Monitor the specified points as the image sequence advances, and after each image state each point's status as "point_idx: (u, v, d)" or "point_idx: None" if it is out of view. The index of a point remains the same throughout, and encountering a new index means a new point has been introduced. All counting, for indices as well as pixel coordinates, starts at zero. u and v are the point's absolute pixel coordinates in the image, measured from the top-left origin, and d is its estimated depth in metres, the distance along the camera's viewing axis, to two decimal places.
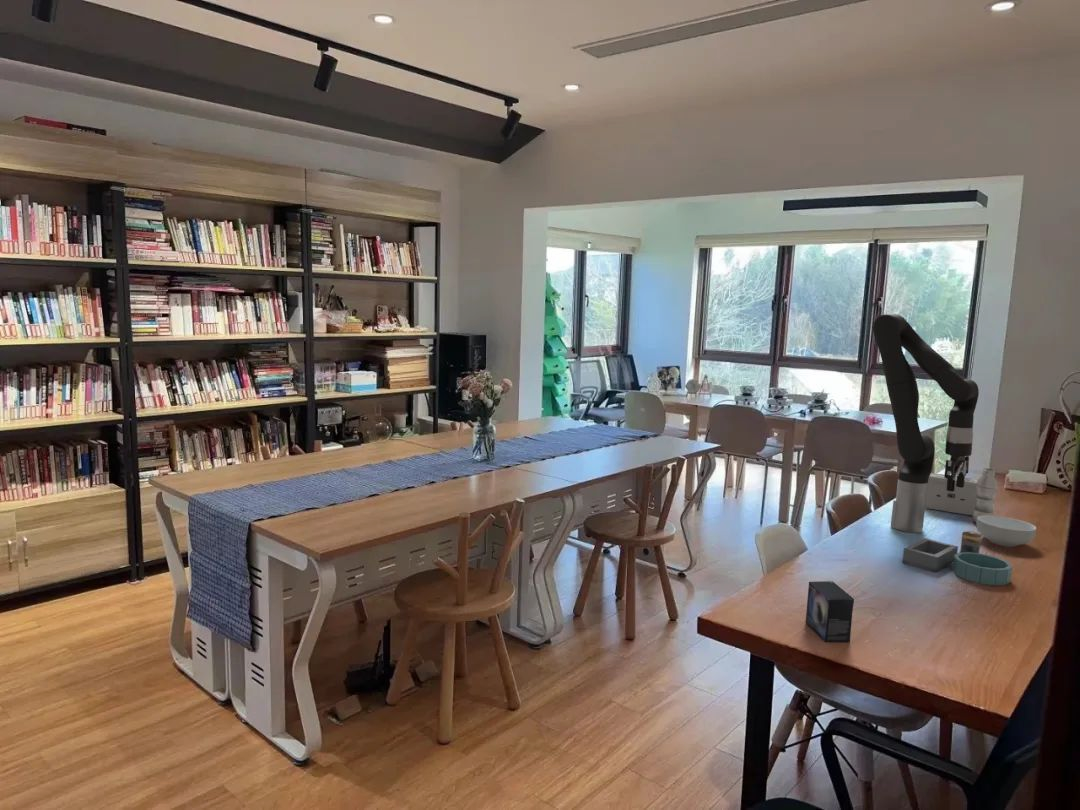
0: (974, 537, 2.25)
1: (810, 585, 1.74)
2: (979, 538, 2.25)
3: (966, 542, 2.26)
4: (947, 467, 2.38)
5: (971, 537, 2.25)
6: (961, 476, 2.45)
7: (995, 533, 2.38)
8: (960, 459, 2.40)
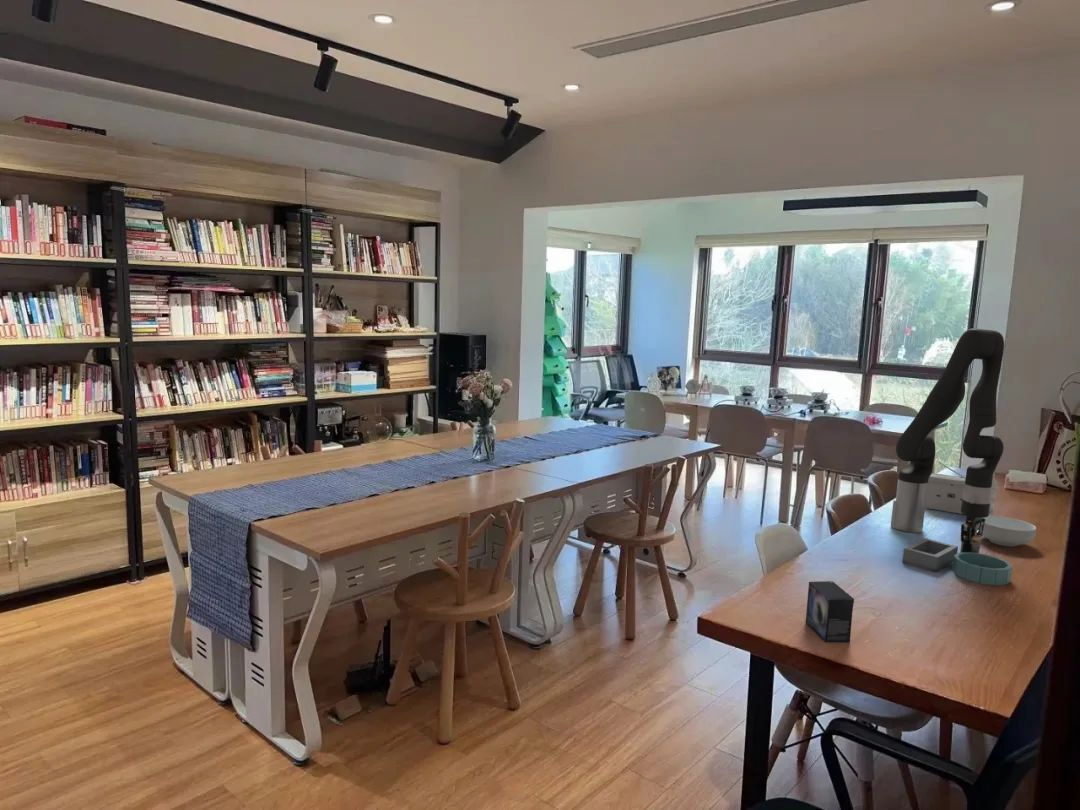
0: (974, 537, 2.25)
1: (810, 585, 1.74)
2: (979, 538, 2.25)
3: None
4: (963, 531, 2.23)
5: None
6: None
7: (995, 533, 2.38)
8: (976, 520, 2.25)
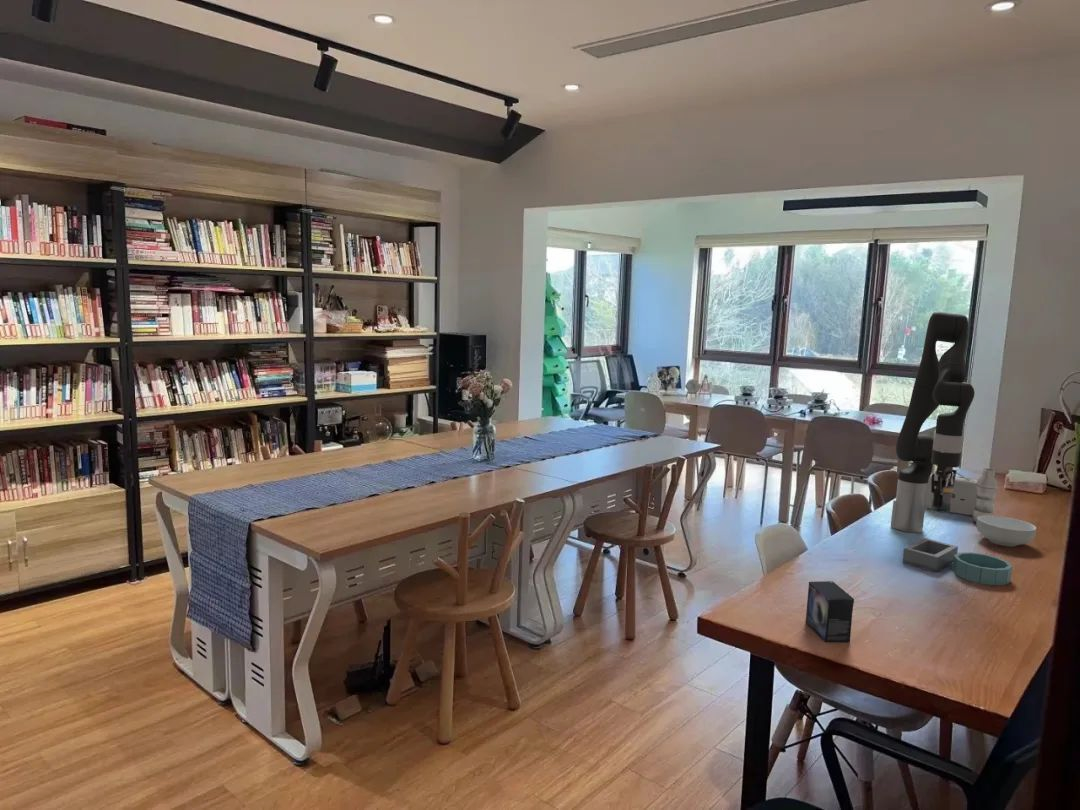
0: (945, 488, 2.17)
1: (810, 585, 1.74)
2: (951, 489, 2.17)
3: None
4: (933, 482, 2.15)
5: None
6: None
7: (995, 533, 2.38)
8: (947, 470, 2.17)
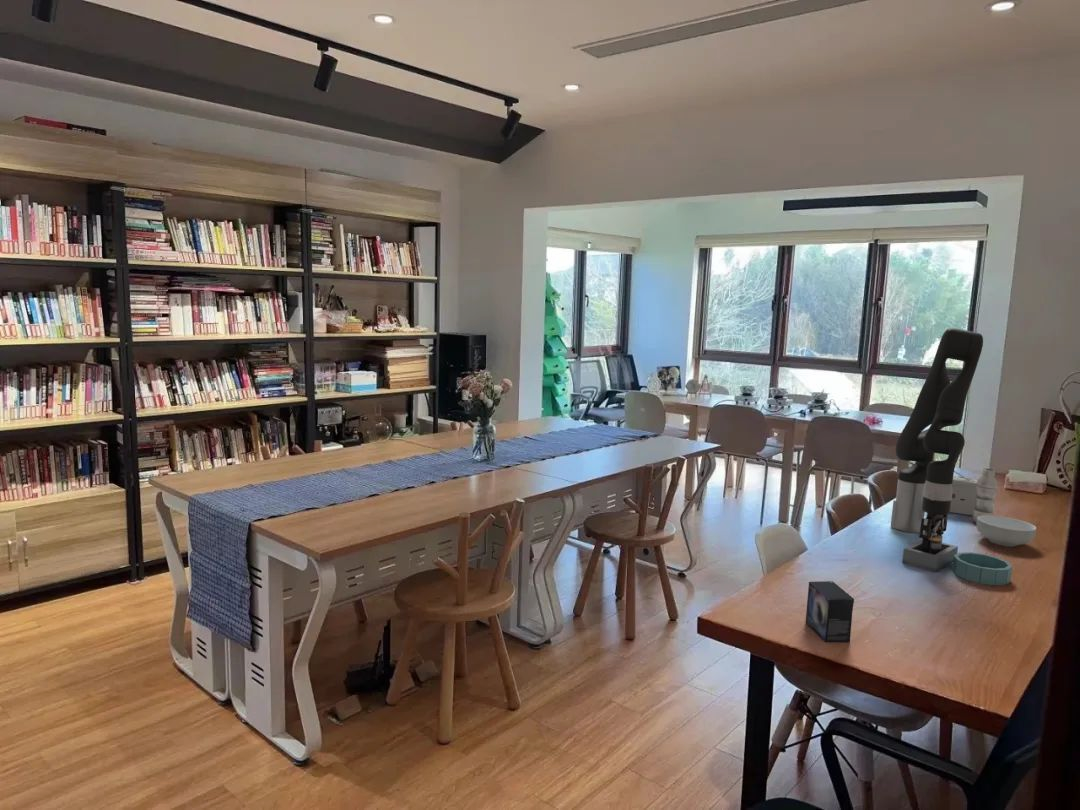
0: (935, 538, 2.19)
1: (810, 585, 1.74)
2: (940, 539, 2.19)
3: None
4: (923, 526, 2.17)
5: (932, 538, 2.19)
6: None
7: (995, 533, 2.38)
8: (937, 517, 2.19)
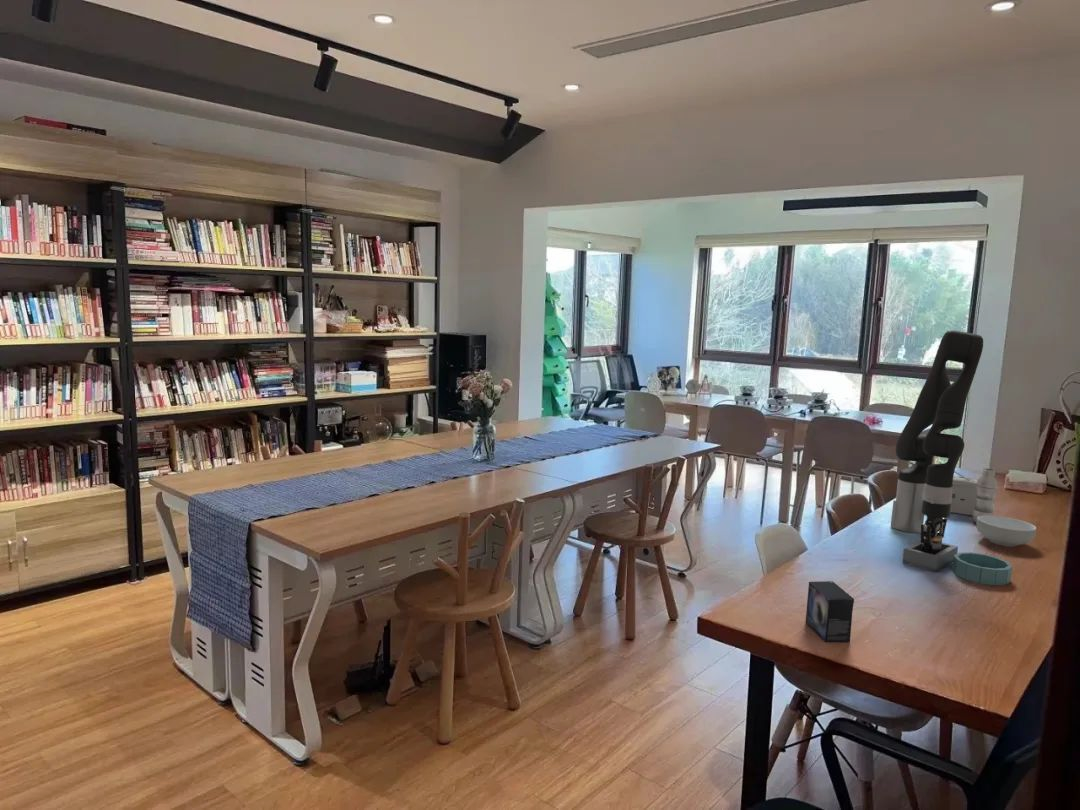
0: (935, 538, 2.19)
1: (810, 585, 1.74)
2: (940, 539, 2.19)
3: None
4: (923, 532, 2.18)
5: None
6: None
7: (995, 533, 2.38)
8: (937, 520, 2.19)
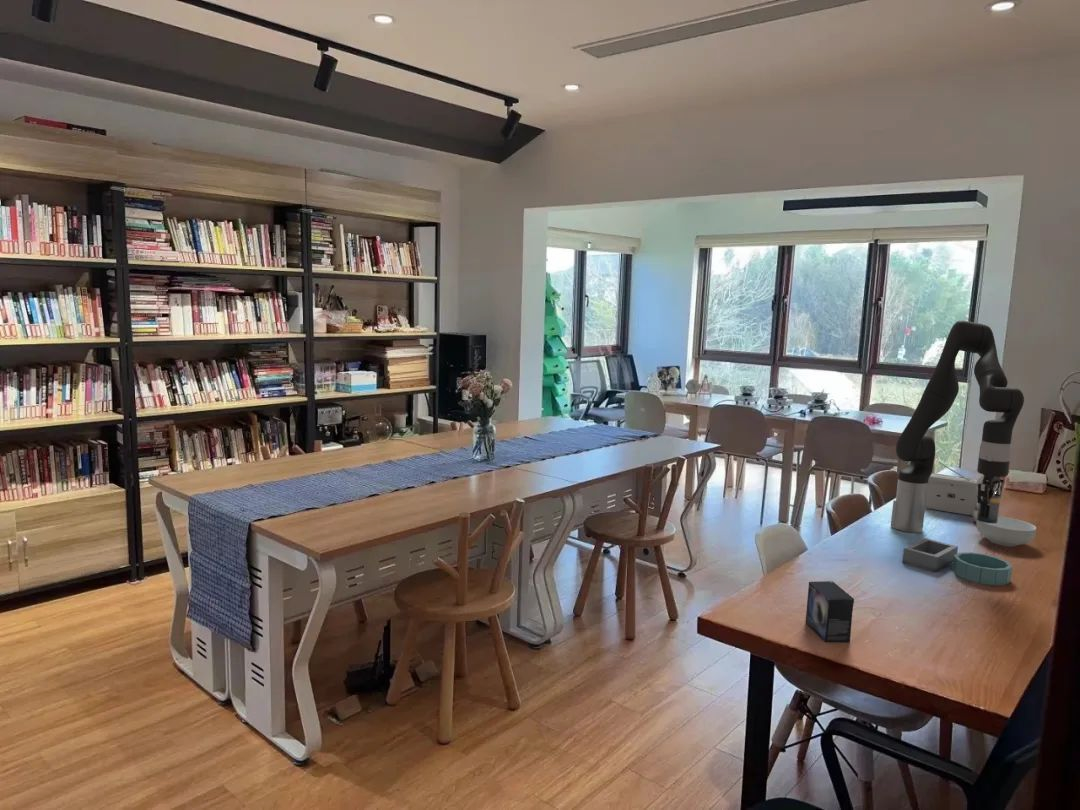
0: (993, 498, 2.07)
1: (810, 585, 1.74)
2: (998, 499, 2.07)
3: None
4: (980, 492, 2.05)
5: None
6: None
7: (995, 533, 2.38)
8: (995, 479, 2.07)
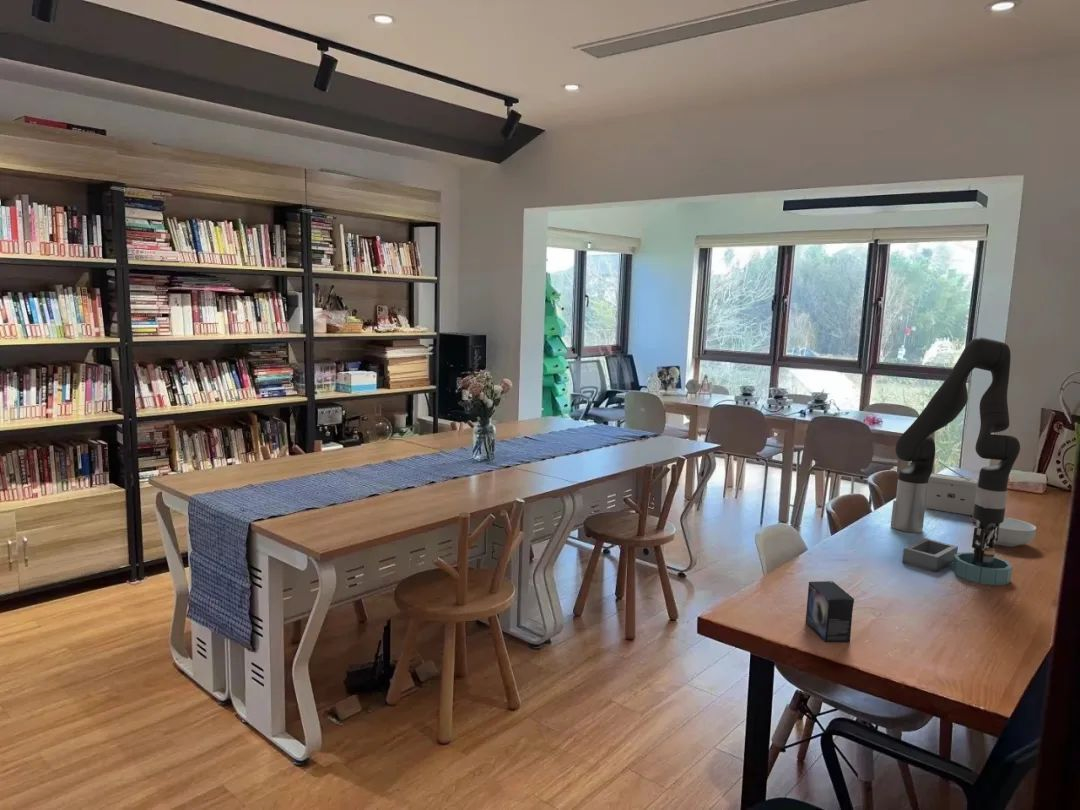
0: (987, 551, 2.09)
1: (810, 585, 1.74)
2: (992, 552, 2.09)
3: None
4: (975, 536, 2.07)
5: (984, 551, 2.09)
6: (990, 544, 2.14)
7: None
8: (990, 526, 2.09)
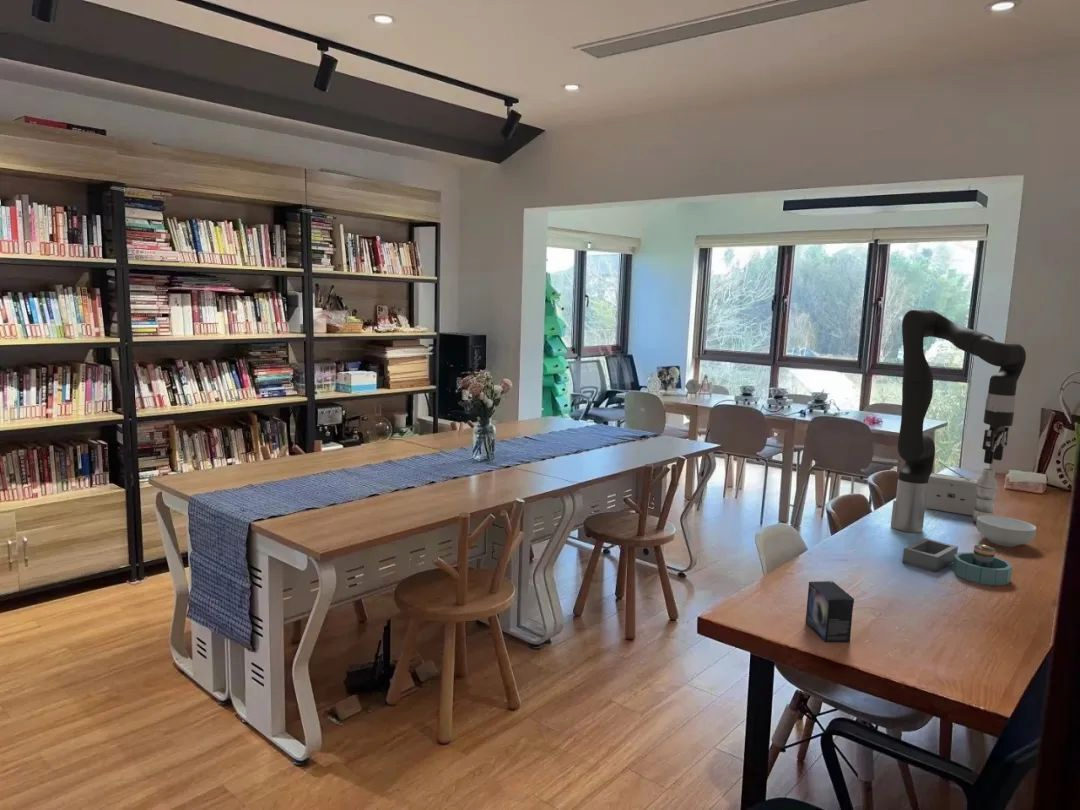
0: (987, 551, 2.09)
1: (810, 585, 1.74)
2: (993, 552, 2.09)
3: (979, 557, 2.10)
4: (986, 437, 2.20)
5: (984, 551, 2.09)
6: (999, 448, 2.27)
7: (995, 533, 2.38)
8: (1000, 429, 2.22)
